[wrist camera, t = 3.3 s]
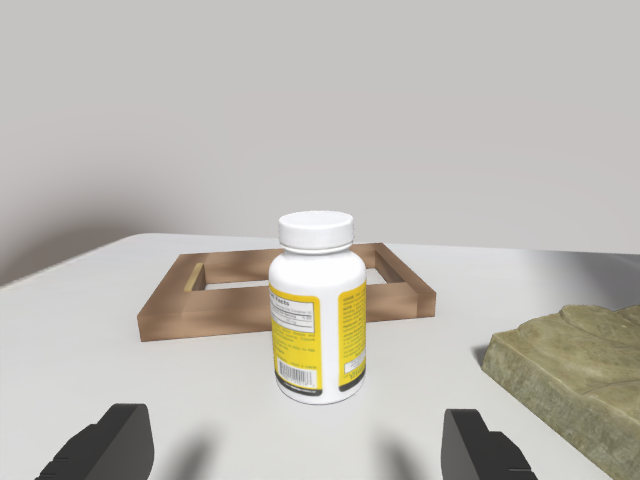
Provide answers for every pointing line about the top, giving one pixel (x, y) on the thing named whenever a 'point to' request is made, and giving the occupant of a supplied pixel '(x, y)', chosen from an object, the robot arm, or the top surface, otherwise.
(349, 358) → the supplement bottle
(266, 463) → the top surface
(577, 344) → the decorative tile
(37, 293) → the top surface
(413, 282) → the keyhole board
